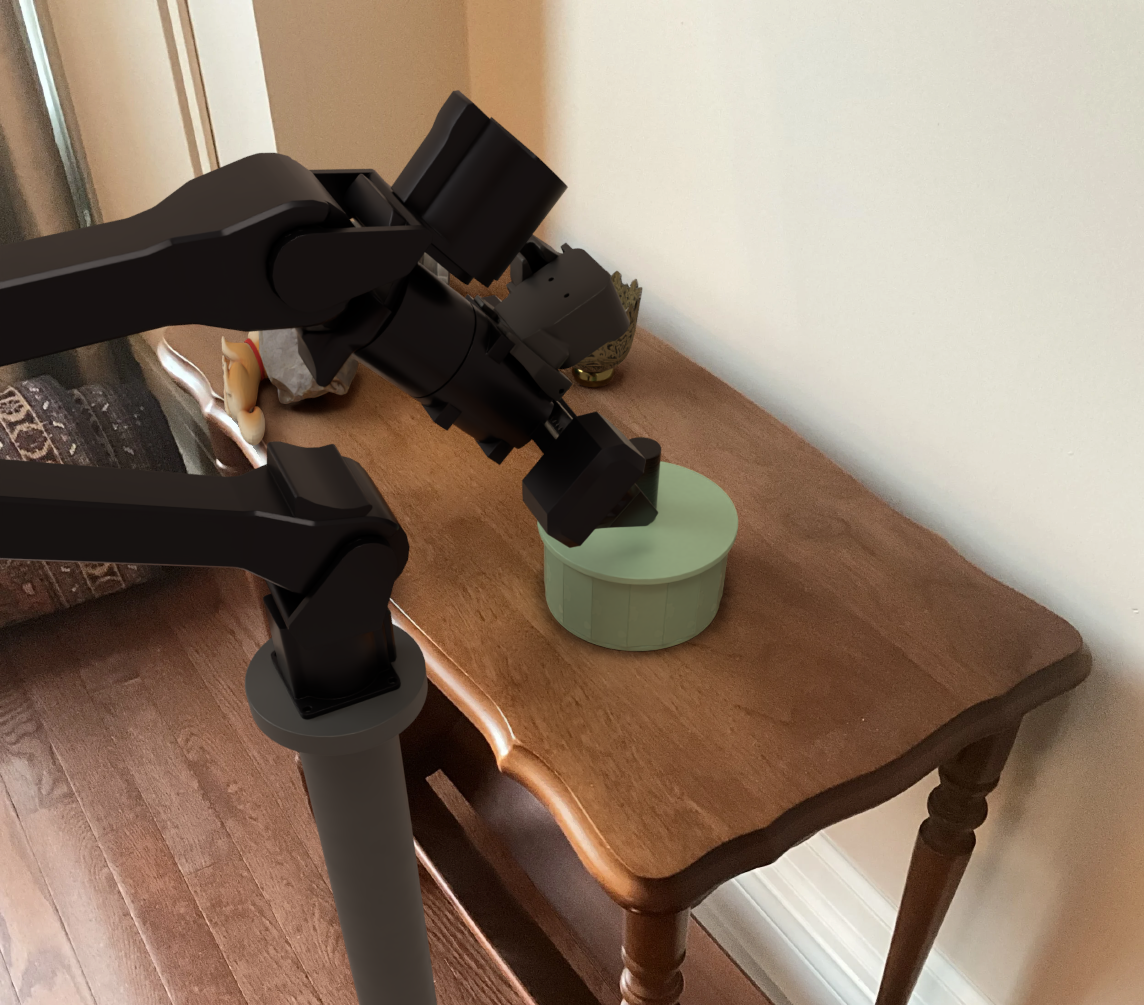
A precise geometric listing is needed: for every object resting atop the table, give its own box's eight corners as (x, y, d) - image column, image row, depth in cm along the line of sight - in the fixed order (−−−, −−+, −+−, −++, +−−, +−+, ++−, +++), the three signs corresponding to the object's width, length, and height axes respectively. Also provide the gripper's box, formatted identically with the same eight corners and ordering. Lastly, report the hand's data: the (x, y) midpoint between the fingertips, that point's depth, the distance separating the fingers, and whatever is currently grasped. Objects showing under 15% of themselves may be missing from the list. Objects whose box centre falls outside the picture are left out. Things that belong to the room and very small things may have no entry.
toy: (220, 339, 101) (279, 343, 102) (226, 460, 91) (292, 462, 92) (219, 303, 99) (280, 307, 100) (225, 423, 88) (293, 426, 90)
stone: (384, 405, 99) (349, 371, 89) (305, 431, 100) (261, 401, 90) (347, 275, 99) (308, 227, 89) (268, 303, 99) (220, 258, 89)
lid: (596, 616, 70) (599, 534, 66) (503, 503, 78) (500, 421, 73) (775, 556, 74) (790, 474, 70) (670, 453, 82) (677, 374, 77)
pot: (597, 673, 74) (600, 601, 70) (515, 568, 82) (513, 497, 77) (754, 617, 78) (766, 546, 74) (662, 521, 85) (668, 451, 81)
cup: (531, 377, 99) (529, 285, 93) (594, 348, 102) (597, 258, 96) (590, 412, 95) (593, 319, 89) (654, 381, 99) (661, 289, 93)
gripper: (617, 299, 53) (789, 454, 64) (467, 152, 64) (636, 306, 75) (465, 487, 56) (654, 603, 68) (348, 316, 68) (527, 440, 79)
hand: (618, 477), depth 72 cm, fingers open, 9 cm apart
